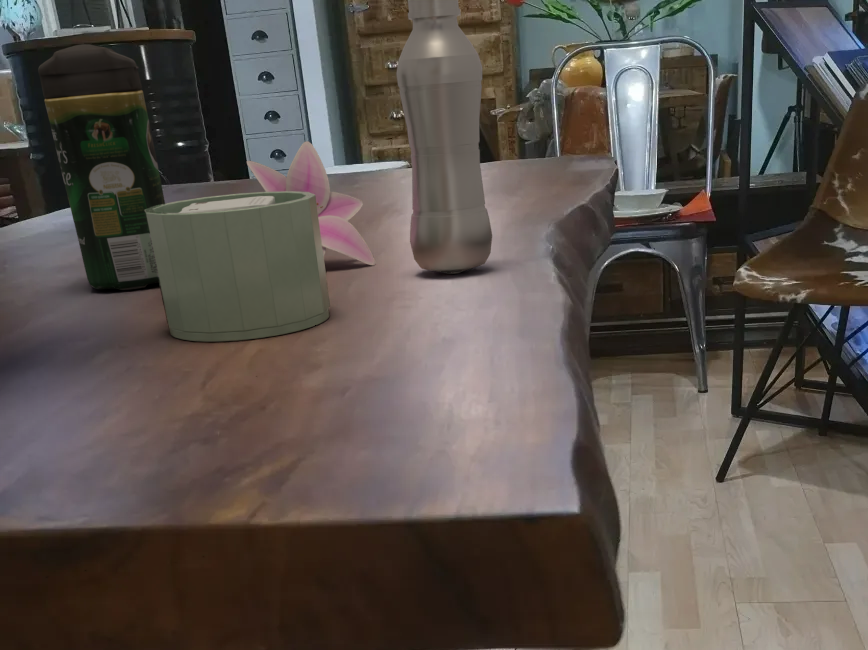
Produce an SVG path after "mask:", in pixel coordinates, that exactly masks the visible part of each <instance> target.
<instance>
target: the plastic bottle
mask: <svg viewBox="0 0 868 650" xmlns="http://www.w3.org/2000/svg"><path fill="white" fill-rule="evenodd" d="M407 5H408V12H407V19H408V20H411V21H412V30H411V32H410V34H409V36H408V38H407V40H406V41H405V44H404V45H403V48H402V50H401V53H400V56H399V58H398V61H397V67H396V81H397V87H398V89H399V97H400V101H401V107H402V110H403V115H404V120H405V125H406V132H407V138H408V147H409V149H410V162H411V175H412V176H411V189H412V190H411V191H412V192H411V194H412V196H411V199H412V200H411V203H412V213H411V217H410V227H409V228H410V229H409V244H410V247H411V251H412V255H413V259H414V261H415V263H416V264H417V265H418V266H419V268H420V269H422V270H424V271H425V270H426V271H432V272H437V273H443V274H448V275H449V274H460V273H462V272H466V271H468V270H472V269H475V268H477V267H481V266H483V265H485V264H486V262H487V261H488V259H489V257H490V255H491V253H492V242H493V231H492V226H491V221H490V215H489V211H488V209H487V208H486V200H485V192H484V185H483V176H482V170H481V169H482V168H481V154H480V153H481V150H480V147H479V146H480V145H479V143H480V141H481V139H480V137H481V135H480V120H481V119H480V118H481V117H480V116H481V104H482V90H483V89H482V87H483V85H482V81H483V65H482V61H481V58H480V55H479V53H478V52H477V49H476V48H475V46H474V45H473V43H472V41H470V39H469V37H468V36H467V35H466V34H465V32H464V31H463V30H462V29H461V27H460V26H459V23H458V17H460V16H461V8H460V6H459V0H407Z"/></svg>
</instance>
